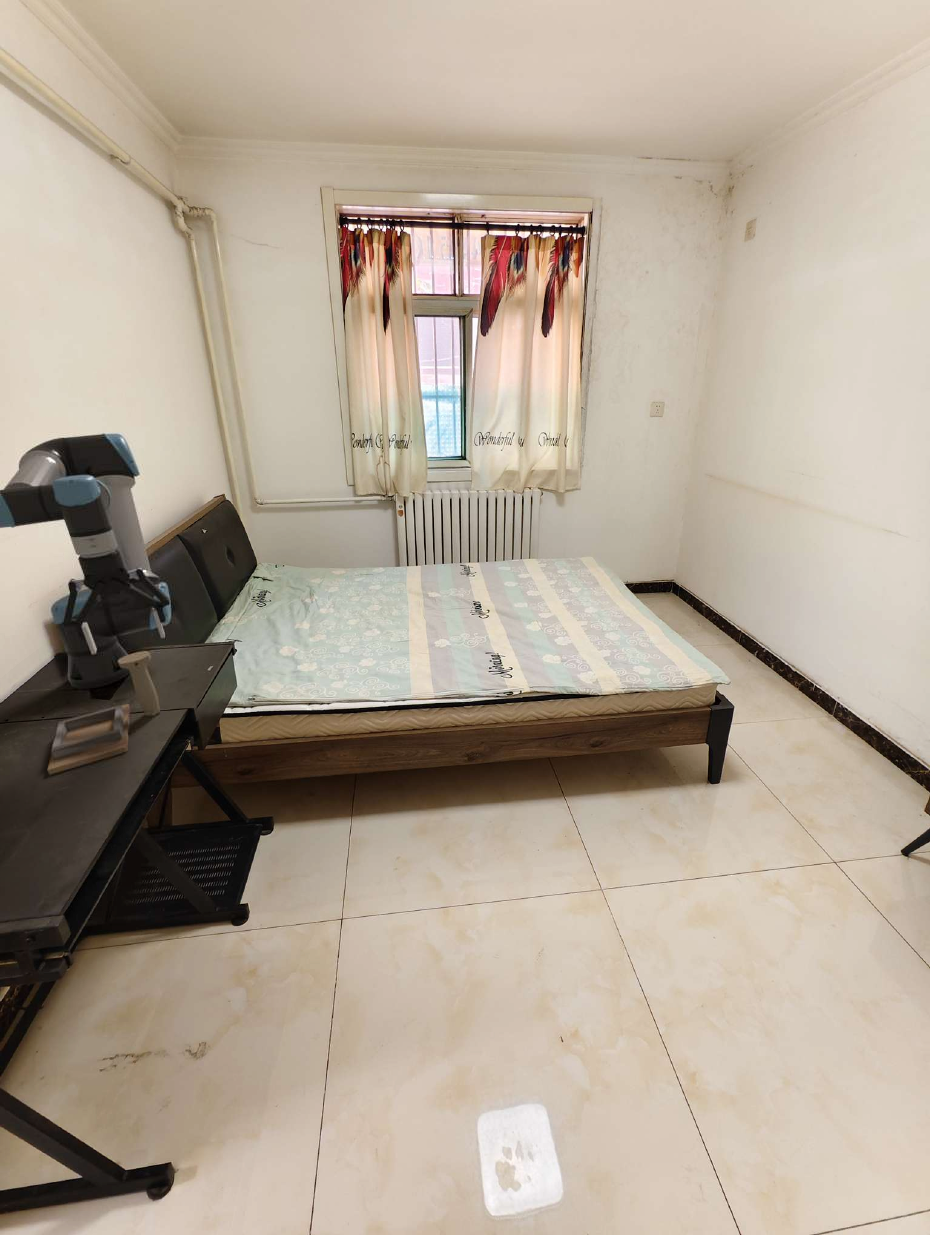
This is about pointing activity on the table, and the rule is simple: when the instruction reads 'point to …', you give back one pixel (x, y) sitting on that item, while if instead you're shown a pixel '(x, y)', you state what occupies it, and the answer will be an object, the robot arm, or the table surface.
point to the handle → (142, 681)
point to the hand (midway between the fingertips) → (129, 643)
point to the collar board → (90, 738)
